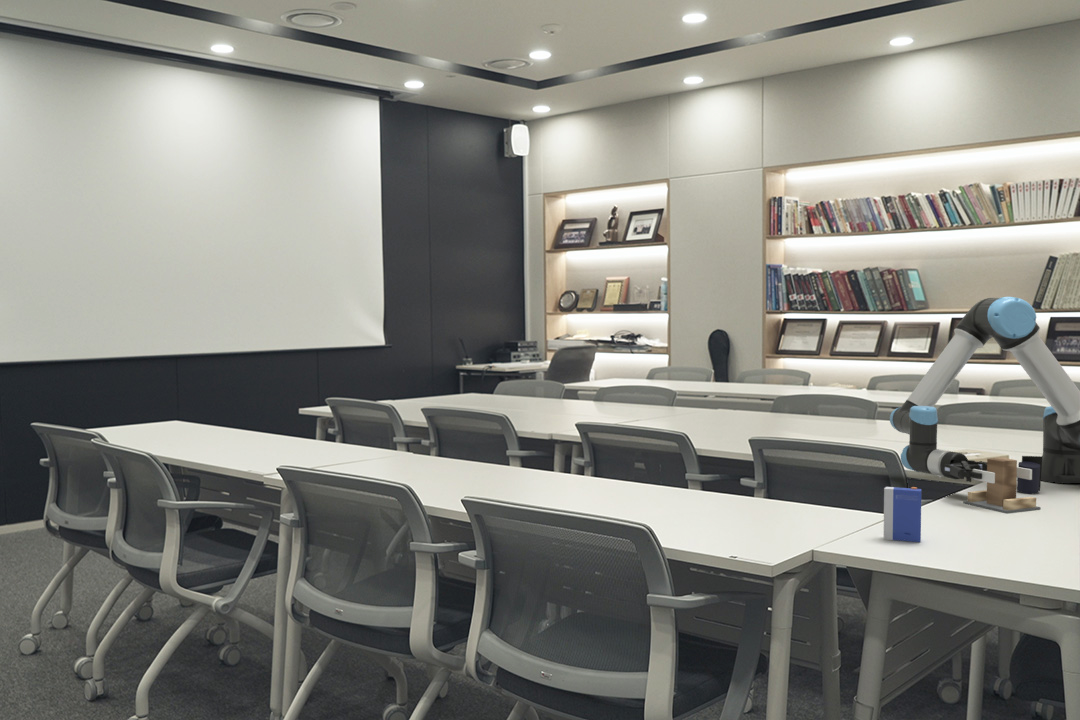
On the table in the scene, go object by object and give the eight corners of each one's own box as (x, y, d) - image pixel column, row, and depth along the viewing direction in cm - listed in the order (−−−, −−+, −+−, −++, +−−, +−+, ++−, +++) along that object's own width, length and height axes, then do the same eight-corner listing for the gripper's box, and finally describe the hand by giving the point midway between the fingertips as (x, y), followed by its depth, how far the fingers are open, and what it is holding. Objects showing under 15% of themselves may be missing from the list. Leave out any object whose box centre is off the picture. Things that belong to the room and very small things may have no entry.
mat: (995, 499, 255) (996, 497, 254) (1040, 509, 242) (1040, 507, 242) (963, 503, 250) (963, 501, 250) (1006, 513, 237) (1006, 511, 237)
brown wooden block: (1000, 501, 249) (1001, 457, 248) (1016, 505, 244) (1016, 460, 244) (986, 503, 247) (987, 458, 247) (1002, 506, 243) (1003, 461, 242)
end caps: (994, 498, 254) (994, 489, 254) (1036, 507, 242) (1036, 497, 242) (967, 501, 250) (967, 491, 250) (1008, 510, 238) (1008, 500, 238)
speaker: (1018, 487, 271) (1020, 453, 269) (1040, 490, 268) (1042, 456, 266) (1014, 494, 264) (1017, 459, 263) (1037, 497, 261) (1040, 462, 260)
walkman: (920, 539, 210) (921, 487, 209) (920, 542, 207) (921, 489, 207) (884, 536, 213) (884, 485, 212) (883, 539, 210) (883, 487, 210)
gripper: (980, 474, 267) (1046, 487, 247) (914, 480, 258) (977, 494, 238) (981, 448, 266) (1046, 459, 247) (915, 453, 257) (977, 465, 237)
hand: (1012, 476), depth 242 cm, fingers open, 13 cm apart
